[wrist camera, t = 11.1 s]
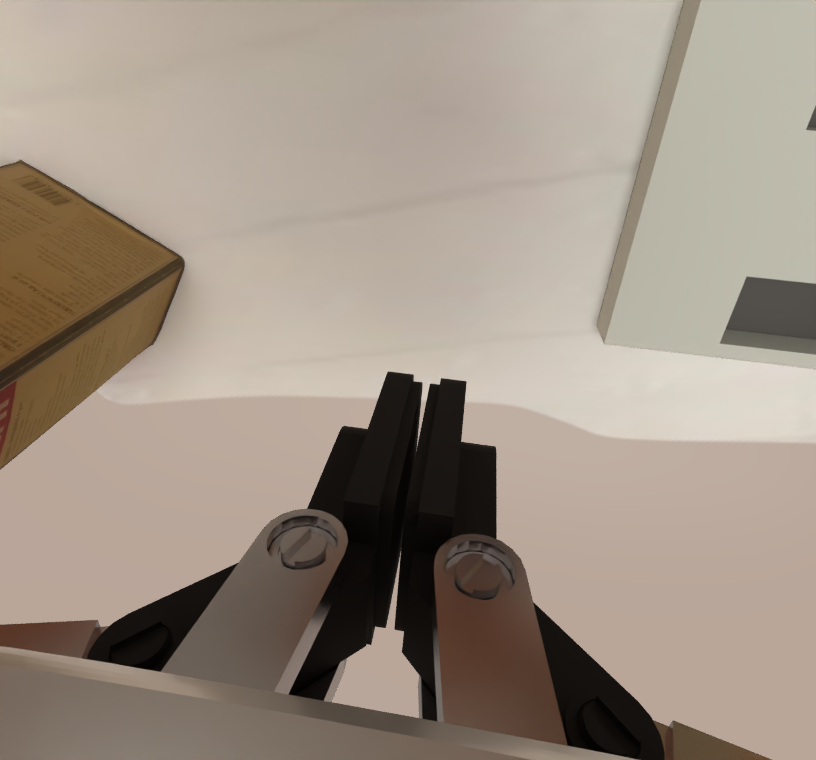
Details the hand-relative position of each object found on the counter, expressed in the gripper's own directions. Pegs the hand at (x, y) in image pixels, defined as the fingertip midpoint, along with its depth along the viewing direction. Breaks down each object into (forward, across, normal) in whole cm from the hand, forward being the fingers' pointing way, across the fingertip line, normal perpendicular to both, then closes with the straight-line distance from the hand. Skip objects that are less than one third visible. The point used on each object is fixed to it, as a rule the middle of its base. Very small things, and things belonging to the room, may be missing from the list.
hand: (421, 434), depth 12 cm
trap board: (+27, -21, -1) cm, 34 cm away
